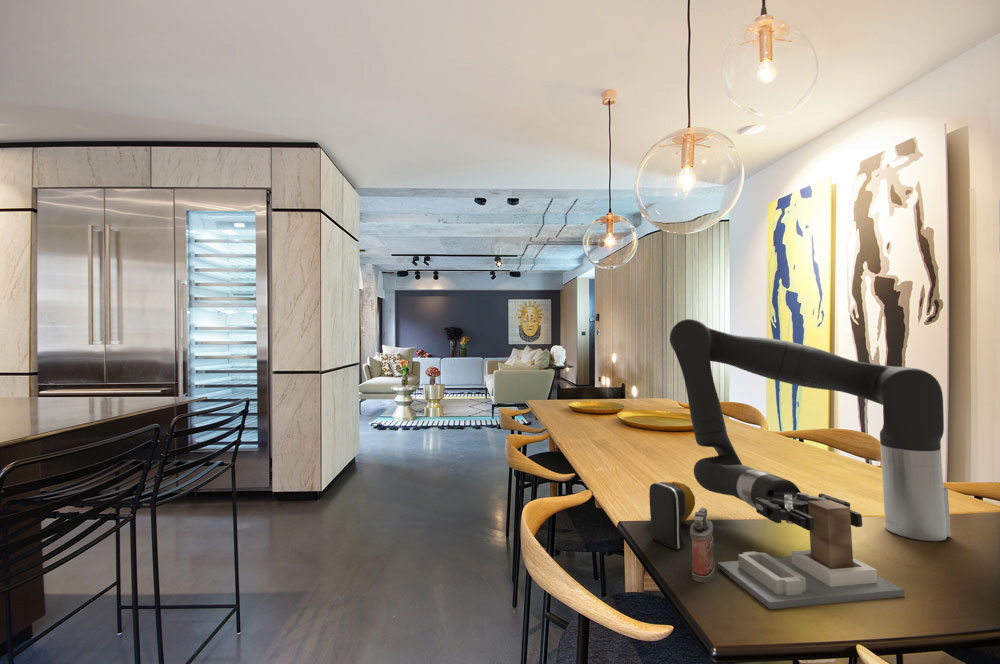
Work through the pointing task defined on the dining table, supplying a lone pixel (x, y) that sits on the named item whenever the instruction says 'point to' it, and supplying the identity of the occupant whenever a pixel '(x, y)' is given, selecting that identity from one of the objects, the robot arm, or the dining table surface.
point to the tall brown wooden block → (831, 534)
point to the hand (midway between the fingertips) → (836, 522)
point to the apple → (688, 497)
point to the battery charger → (667, 513)
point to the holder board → (805, 580)
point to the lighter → (702, 547)
